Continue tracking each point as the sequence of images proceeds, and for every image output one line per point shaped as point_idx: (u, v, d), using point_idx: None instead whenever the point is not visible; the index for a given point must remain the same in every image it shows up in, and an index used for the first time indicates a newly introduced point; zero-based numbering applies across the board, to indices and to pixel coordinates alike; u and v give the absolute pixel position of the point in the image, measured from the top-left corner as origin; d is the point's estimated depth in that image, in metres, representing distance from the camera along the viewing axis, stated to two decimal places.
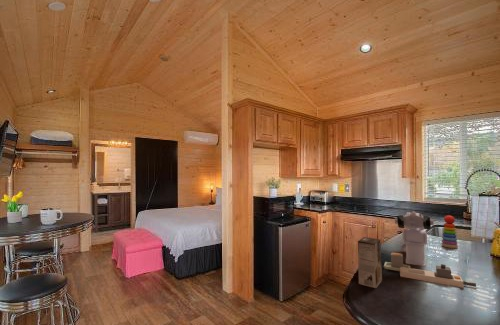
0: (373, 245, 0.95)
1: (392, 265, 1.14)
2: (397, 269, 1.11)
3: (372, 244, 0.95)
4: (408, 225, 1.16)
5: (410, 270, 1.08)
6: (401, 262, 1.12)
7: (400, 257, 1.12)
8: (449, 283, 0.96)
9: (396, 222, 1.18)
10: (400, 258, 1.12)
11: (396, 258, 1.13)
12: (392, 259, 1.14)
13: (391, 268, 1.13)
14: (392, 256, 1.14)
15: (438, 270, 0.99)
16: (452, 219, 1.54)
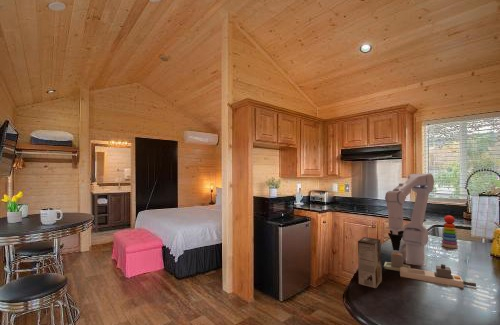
0: (373, 245, 0.95)
1: (392, 265, 1.14)
2: (397, 269, 1.11)
3: (372, 244, 0.95)
4: None
5: (410, 270, 1.08)
6: (401, 262, 1.12)
7: (400, 257, 1.12)
8: (449, 283, 0.96)
9: None
10: (400, 258, 1.12)
11: (396, 258, 1.13)
12: (392, 259, 1.14)
13: (391, 268, 1.13)
14: (392, 256, 1.14)
15: (438, 270, 0.99)
16: (452, 219, 1.54)
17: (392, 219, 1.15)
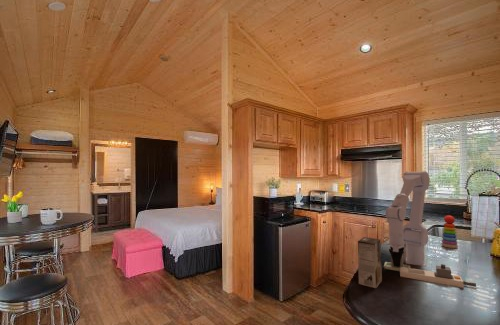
0: (373, 245, 0.95)
1: (392, 265, 1.14)
2: (397, 269, 1.11)
3: (372, 244, 0.95)
4: None
5: (410, 270, 1.08)
6: (401, 262, 1.12)
7: None
8: (449, 283, 0.96)
9: None
10: None
11: None
12: None
13: (391, 268, 1.13)
14: None
15: (438, 270, 0.99)
16: (452, 219, 1.54)
17: (393, 235, 1.14)
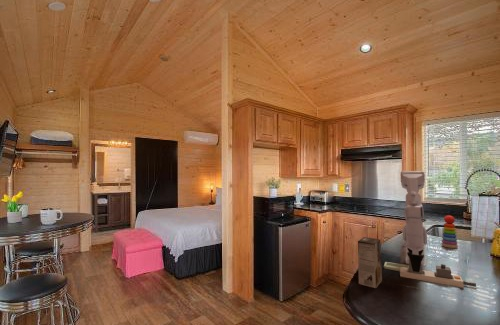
0: (373, 245, 0.95)
1: None
2: (397, 269, 1.11)
3: (372, 244, 0.95)
4: None
5: None
6: (420, 270, 1.02)
7: None
8: (449, 283, 0.96)
9: None
10: None
11: None
12: (410, 267, 1.04)
13: (391, 268, 1.13)
14: (410, 263, 1.04)
15: (438, 270, 0.99)
16: (452, 219, 1.54)
17: (411, 237, 1.04)
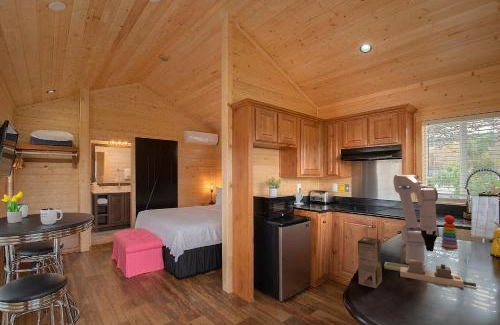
0: (373, 245, 0.95)
1: None
2: (397, 269, 1.11)
3: (372, 244, 0.95)
4: None
5: None
6: (420, 270, 1.02)
7: (419, 264, 1.03)
8: (449, 283, 0.96)
9: None
10: (419, 265, 1.03)
11: (415, 266, 1.03)
12: (410, 267, 1.04)
13: (391, 268, 1.13)
14: (410, 263, 1.04)
15: (438, 270, 0.99)
16: (452, 219, 1.54)
17: (425, 218, 1.09)
